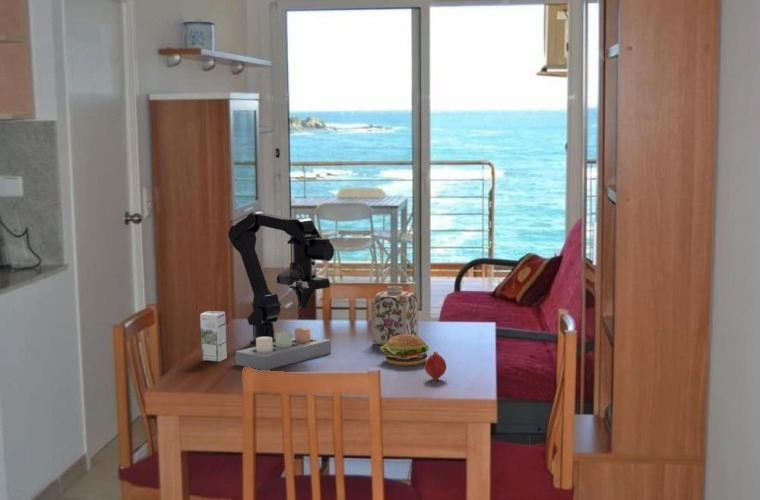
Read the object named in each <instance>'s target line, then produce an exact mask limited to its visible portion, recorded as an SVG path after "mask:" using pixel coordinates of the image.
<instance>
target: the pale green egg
mask: <svg viewBox="0 0 760 500" xmlns="http://www.w3.org/2000/svg"><path fill="white" fill-rule="evenodd" d="M292 338H293V333H292V332H290V331H289V332H288V331H283V332H282V331H280V332H276V333H275V339H276V347H277V348H282V349H285V348H289V347H292Z"/></svg>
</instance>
